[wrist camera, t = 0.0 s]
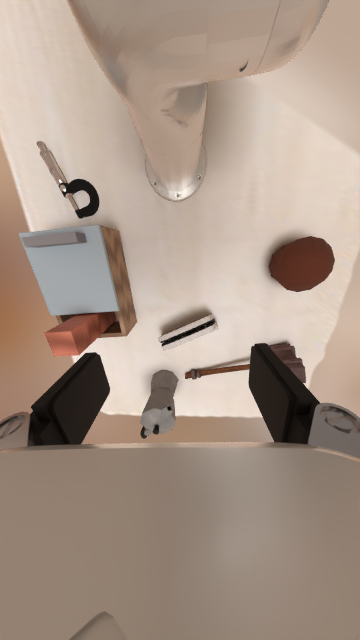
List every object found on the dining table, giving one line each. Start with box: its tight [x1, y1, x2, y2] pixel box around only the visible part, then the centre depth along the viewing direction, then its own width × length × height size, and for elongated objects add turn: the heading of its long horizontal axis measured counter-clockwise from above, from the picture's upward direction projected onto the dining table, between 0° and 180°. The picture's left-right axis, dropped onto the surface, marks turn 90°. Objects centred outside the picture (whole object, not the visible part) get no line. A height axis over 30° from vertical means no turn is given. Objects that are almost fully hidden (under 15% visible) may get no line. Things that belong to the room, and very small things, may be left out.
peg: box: [45, 311, 116, 356], centre depth 39 cm, size 5×5×18 cm
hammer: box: [185, 344, 306, 383], centre depth 51 cm, size 7×33×10 cm, turn 108°
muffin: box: [269, 236, 335, 292], centre depth 37 cm, size 12×11×10 cm
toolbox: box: [56, 226, 137, 338], centre depth 41 cm, size 24×16×9 cm, turn 5°
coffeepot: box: [140, 370, 178, 438], centre depth 49 cm, size 15×9×18 cm, turn 145°
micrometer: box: [37, 141, 99, 218], centre depth 36 cm, size 15×7×3 cm, turn 23°
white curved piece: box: [159, 314, 218, 350], centre depth 46 cm, size 17×5×10 cm, turn 116°
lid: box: [19, 225, 120, 316], centre depth 34 cm, size 17×16×4 cm
